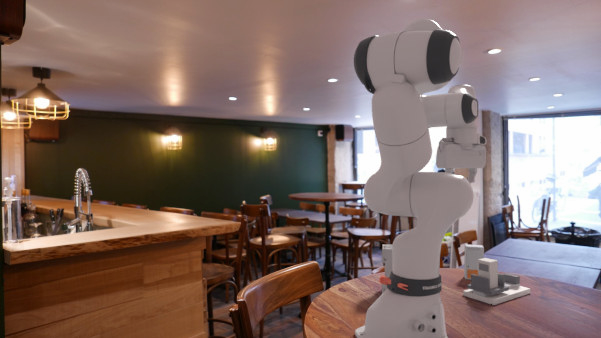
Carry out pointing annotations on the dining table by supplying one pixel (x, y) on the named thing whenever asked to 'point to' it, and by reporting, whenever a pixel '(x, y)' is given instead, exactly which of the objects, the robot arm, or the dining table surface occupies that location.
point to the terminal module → (489, 270)
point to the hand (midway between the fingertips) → (461, 183)
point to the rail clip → (504, 284)
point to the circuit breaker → (387, 261)
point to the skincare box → (472, 259)
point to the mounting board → (499, 295)
